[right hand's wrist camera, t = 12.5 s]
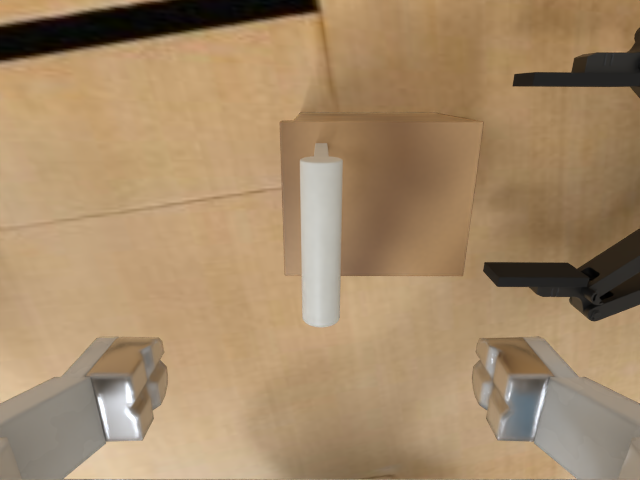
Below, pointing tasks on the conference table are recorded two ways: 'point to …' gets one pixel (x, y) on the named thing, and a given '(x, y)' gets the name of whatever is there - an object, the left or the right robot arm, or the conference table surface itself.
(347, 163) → the lid
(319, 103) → the conference table surface
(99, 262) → the conference table surface
